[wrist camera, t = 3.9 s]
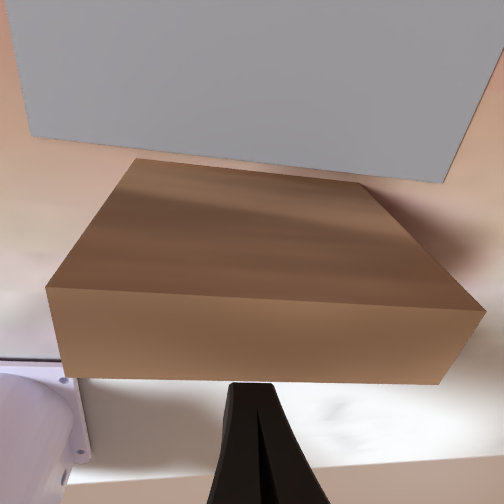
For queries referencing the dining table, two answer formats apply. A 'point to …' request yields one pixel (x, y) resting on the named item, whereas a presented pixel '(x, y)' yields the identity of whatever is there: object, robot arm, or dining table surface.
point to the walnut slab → (253, 284)
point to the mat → (262, 78)
